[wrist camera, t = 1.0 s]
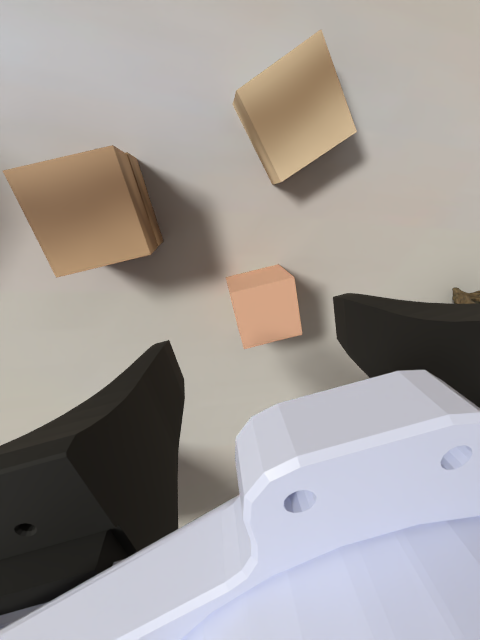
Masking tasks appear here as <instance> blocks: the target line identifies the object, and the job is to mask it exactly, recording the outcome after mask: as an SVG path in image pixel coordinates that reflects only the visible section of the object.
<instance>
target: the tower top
mask: <svg viewBox="0 0 480 640" xmlns="http://www.w3.org/2000/svg"><path fill="white" fill-rule="evenodd" d="M3 173H4V175H5V177H6V179H7V181H8V183H9V185H10V186H11V188H12V190H13V192H14V194H15V196H16V198H17V200H18V202H19V204H20V206H21V208H22V210H23V212H24V214H25V216H26V218H27V220H28V222H29V224H30V226H31V228H32V230H33V232H34V234H35V236H36V238H37V240H38V242H39V244H40V246H41V248H42V250H43V252H44V254H45V256H46V258H47V260H48V262H49V264H50V266H51V268H52V270H53V272H54V274H55V276H56V278H57V277H61V276H65V275H69V274H73V273H77V272H81V271H85V270H90V269H94V268H98V267H102V266H106V265H110V264H114V263H118V262H123V261H127V260H131V259H135V258H139V257H143V256H147V255H151V254H152V253H153V252H154V251H155V250H156V249H157V248H158V247H157V244H156V241H155V238H154V235H153V232H152V229H151V226H150V223H149V220H148V217H147V214H146V211H145V208H144V205H143V202H142V199H141V196H140V193H139V190H138V187H137V184H136V181H135V178H134V175H133V172H132V169H131V166H130V163H129V160H128V157H127V154H126V153H124V152H122V151H121V150H119V149H118V148H116V147H115V146H113V145H112V146H108V147H103V148H99V149H95V150H90V151H86V152H82V153H77V154H73V155H69V156H64V157H60V158H56V159H52V160H47V161H43V162H39V163H34V164H30V165H26V166H21V167H17V168H13V169H8V170H4V171H3Z"/></svg>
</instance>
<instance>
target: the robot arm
mask: <svg viewBox="0 0 480 640" xmlns="http://www.w3.org/2000/svg"><path fill="white" fill-rule="evenodd" d="M333 303H334V313H335V324H336V334H337V339H338V341H339V342H340V344H341V345H342V347H343V348H344V350H345V351H346V353H347V354H348V355H349V356H350V357H351V359H352V360H353V361H354V362H355V363H356V364H357V365H358V366H359V367H360V368H361V369H362V370H363V371H364V372H365V373H366V374H367V375H368V376H369V379H366V380H362V381H358V382H355V383H351V384H347V385H344V386H340V387H336V388H332V389H329V390H325V391H321V392H318V393H314V394H310V395H307V396H303V397H299V398H296V399H292V400H288V401H284V402H281V403H277V404H275V405H273V406H271V407H269V408H267V409H265V410H263V411H262V412H260V413H258V414H256V415H254V416H252V417H251V418H250V419H249V420H248V422H247V423H246V424H245V426H244V427H243V428H242V430H241V431H240V432H239V434H238V435H237V436H236V447H235V461H236V469H237V477H238V485H239V493H240V494H239V495H237V496H236V497H234V498H232V499H230V500H228V501H227V502H225V503H223V504H221V505H220V506H218V507H216V508H214V509H213V510H211V511H209V512H207V513H205V514H204V515H202V516H200V517H198V518H197V519H195V520H193V521H191V522H190V523H188V524H186V525H184V526H182V527H181V528H179V529H178V482H177V479H178V448H179V439H180V431H181V424H182V416H183V408H184V399H185V393H184V378H183V375H182V373H181V370H180V367H179V365H178V362H177V360H176V357H175V354H174V352H173V349H172V346H171V344H170V341H169V340H168V341H164V342H161V343H157V344H154V345H153V346H151V347H150V348H149V349H148V350H147V351H146V352H145V353H143V354H142V355H141V356H140V357H139V358H138V359H137V360H136V361H135V362H134V363H133V364H132V365H131V366H130V367H128V368H127V369H126V370H125V371H124V372H123V373H122V374H120V375H119V376H118V377H117V378H116V379H115V380H113V381H112V382H111V383H110V384H108V385H107V386H106V387H105V388H103V389H102V390H101V391H99V392H98V393H96V394H95V395H94V396H92V397H91V398H89V399H88V400H86V401H85V402H83V403H82V404H80V405H78V406H77V407H75V408H73V409H72V410H70V411H69V412H67V413H65V414H64V415H62V416H60V417H58V418H57V419H55V420H53V421H51V422H49V423H47V424H46V425H44V426H42V427H40V428H38V429H36V430H34V431H32V432H30V433H28V434H26V435H23V436H21V437H19V438H17V439H15V440H12V441H10V442H8V443H6V444H3V445H1V446H0V640H480V303H473V304H444V303H424V302H413V301H404V300H396V299H389V298H382V297H376V296H369V295H363V294H353V293H347V294H343V295H339V296H335V297H333Z"/></svg>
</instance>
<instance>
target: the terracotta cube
mask: <svg viewBox="0 0 480 640" xmlns="http://www.w3.org/2000/svg"><path fill="white" fill-rule="evenodd" d="M226 280H227V284H228V288H229V292H230V297H231V301H232V305H233V309H234V313H235V317H236V321H237V325H238V329H239V333H240V336H241V340H242V343H243V347H244V349H247V348H251V347H255V346H259V345H262V344H266V343H270V342H274V341H278V340H282V339H286V338H290V337H294V336H298V335H302V328H301V321H300V314H299V307H298V300H297V292H296V285H295V278H294V277H293V276H292V275H291V274H290V273H289V272H287V271H286V270H285V269H284V268H282V267H281V266H280V265H279V264H278V265H274V266H270V267H266V268H262V269H258V270H254V271H249V272H245V273H241V274H237V275H233V276H229V277H226Z"/></svg>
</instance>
